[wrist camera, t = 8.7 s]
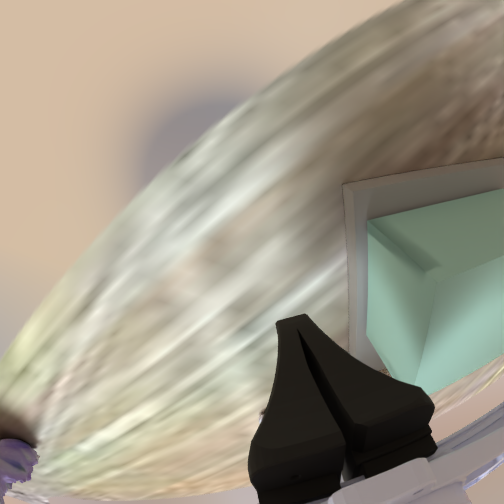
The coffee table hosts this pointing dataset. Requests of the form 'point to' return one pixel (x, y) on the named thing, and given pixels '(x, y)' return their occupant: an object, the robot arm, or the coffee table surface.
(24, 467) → the flower
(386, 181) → the base
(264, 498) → the robot arm
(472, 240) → the block
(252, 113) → the coffee table surface
